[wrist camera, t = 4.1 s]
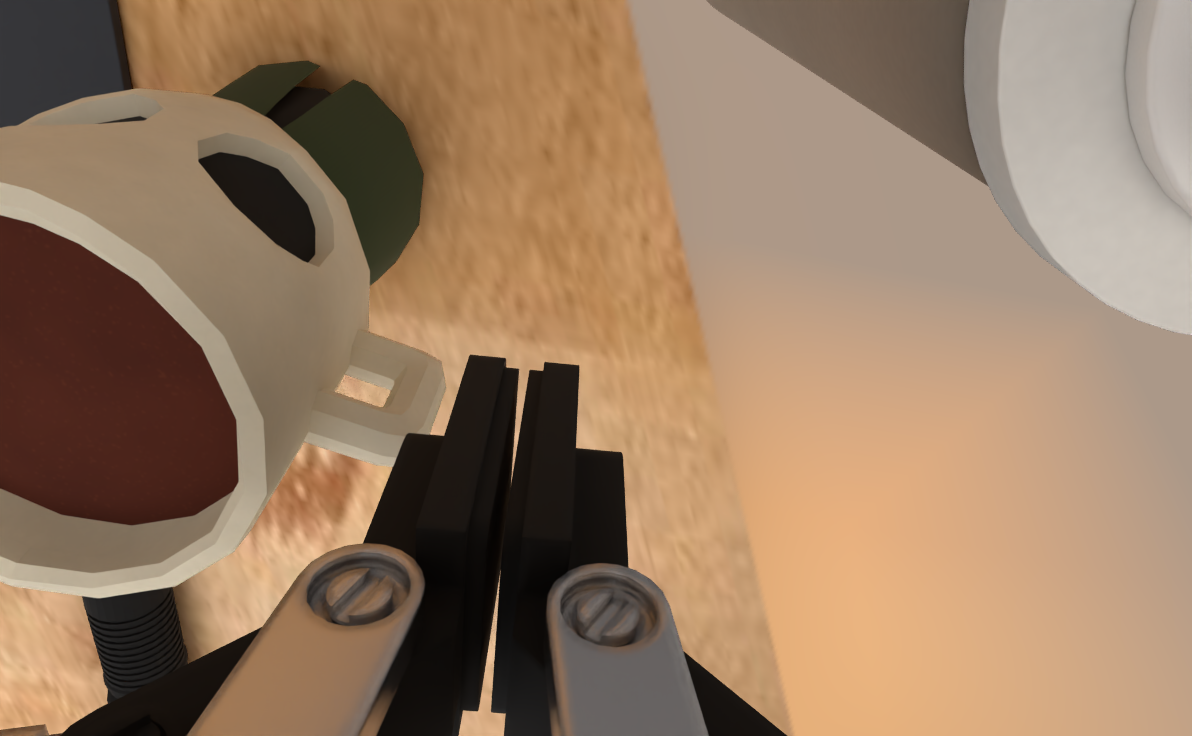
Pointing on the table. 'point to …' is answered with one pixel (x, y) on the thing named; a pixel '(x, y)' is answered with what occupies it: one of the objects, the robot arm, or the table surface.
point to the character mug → (192, 318)
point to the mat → (58, 55)
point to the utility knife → (136, 638)
